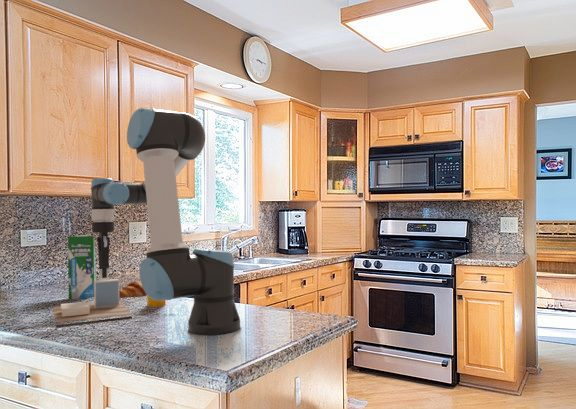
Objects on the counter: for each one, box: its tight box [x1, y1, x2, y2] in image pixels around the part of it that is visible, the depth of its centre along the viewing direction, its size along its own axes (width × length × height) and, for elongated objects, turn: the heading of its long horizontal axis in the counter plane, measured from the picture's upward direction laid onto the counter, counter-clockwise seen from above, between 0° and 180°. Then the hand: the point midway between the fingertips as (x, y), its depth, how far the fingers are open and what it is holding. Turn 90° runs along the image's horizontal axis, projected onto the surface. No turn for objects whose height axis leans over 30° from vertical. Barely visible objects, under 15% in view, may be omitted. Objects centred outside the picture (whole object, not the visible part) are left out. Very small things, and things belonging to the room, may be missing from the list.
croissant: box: [119, 280, 147, 298], centre depth 190 cm, size 21×10×8 cm, turn 138°
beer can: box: [146, 295, 167, 308], centre depth 167 cm, size 6×6×15 cm
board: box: [52, 299, 133, 329], centre depth 160 cm, size 26×22×2 cm
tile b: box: [93, 278, 120, 308], centre depth 166 cm, size 3×8×9 cm, turn 118°
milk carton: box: [67, 235, 97, 301], centre depth 188 cm, size 9×9×25 cm
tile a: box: [60, 301, 90, 317], centre depth 156 cm, size 3×8×9 cm
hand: (104, 286), depth 173 cm, fingers closed
